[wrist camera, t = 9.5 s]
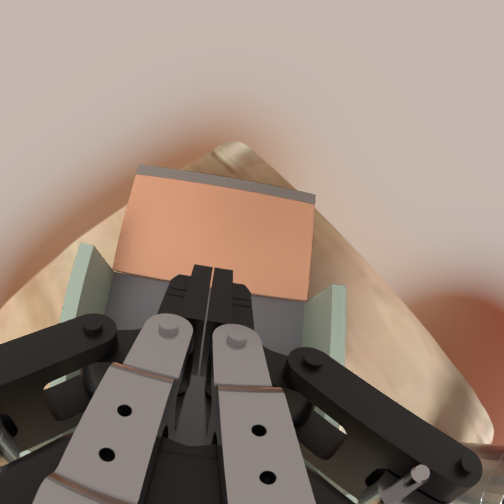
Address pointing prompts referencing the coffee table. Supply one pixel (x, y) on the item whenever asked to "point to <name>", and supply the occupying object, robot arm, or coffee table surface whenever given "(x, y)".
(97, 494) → the robot arm
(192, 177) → the panel
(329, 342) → the truck bed
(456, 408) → the coffee table surface
